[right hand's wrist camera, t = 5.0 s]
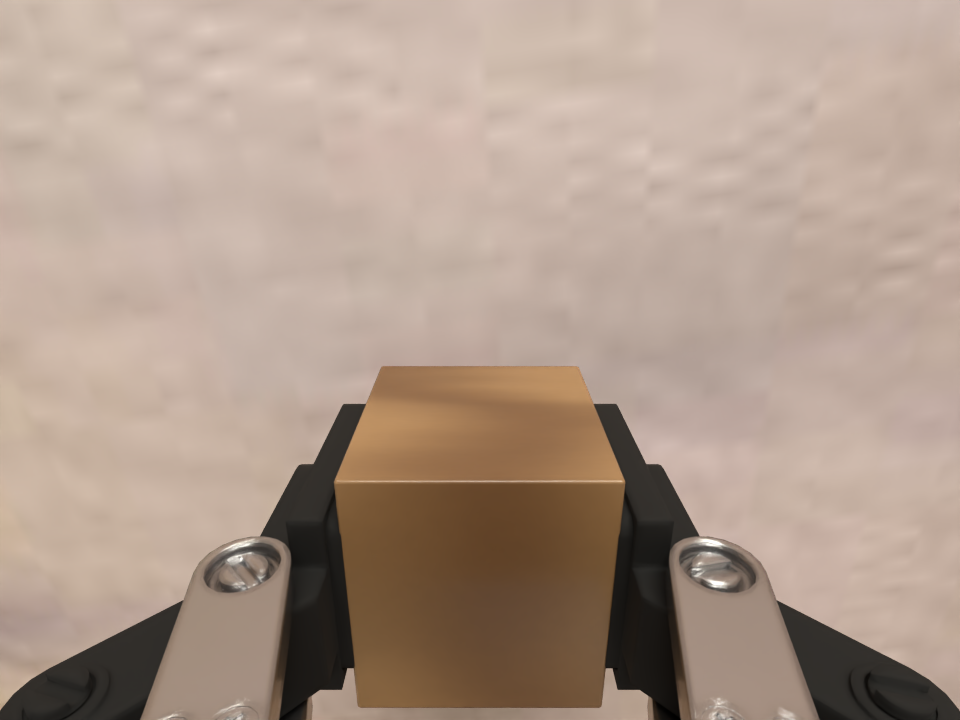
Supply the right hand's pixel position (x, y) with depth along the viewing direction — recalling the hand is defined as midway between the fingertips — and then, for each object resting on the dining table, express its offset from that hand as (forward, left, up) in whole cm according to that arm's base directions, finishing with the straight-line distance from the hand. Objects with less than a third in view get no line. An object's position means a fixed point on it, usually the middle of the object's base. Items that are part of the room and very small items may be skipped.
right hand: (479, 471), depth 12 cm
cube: (0, 0, 0) cm, 0 cm away
